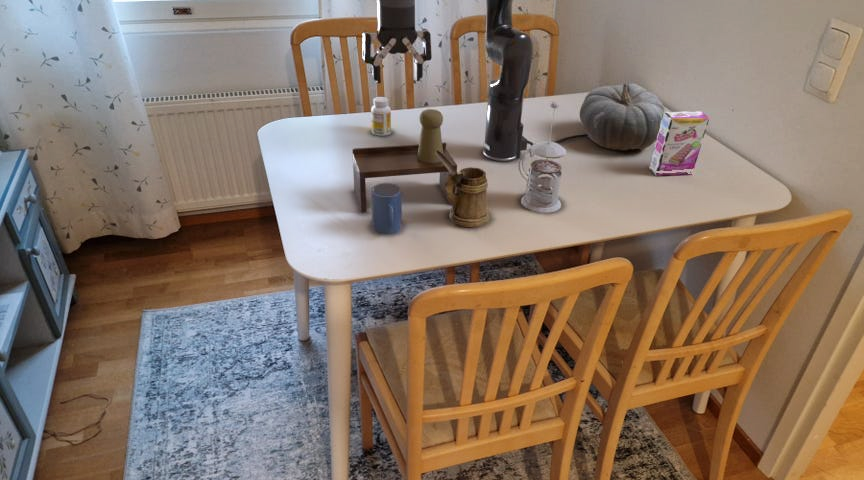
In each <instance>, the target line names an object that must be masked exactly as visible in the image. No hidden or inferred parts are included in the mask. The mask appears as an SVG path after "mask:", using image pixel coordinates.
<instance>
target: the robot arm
mask: <svg viewBox="0 0 864 480" xmlns="http://www.w3.org/2000/svg"><path fill="white" fill-rule="evenodd" d="M513 2H514V0H485V3H486V17H485V18H486V19H485V23H486V24H485V50H486V54H487V56H488V57H489V59H490V60H491V61H492V62H494V63H496V64H498V65H500V66H501V69H500V76H497V77H495V78H492V79H491V80H490V81H489V84H488V94H487V105H486V107H487V108H486V117H485V119H486V120H485V131H484V142H483V152H482V153H483V156H484V157H485V158H487V159H489V160H491V161H494V162H511V161H514V160H516V159H520V157H521V151H522V152H523V151H528V150H527V148H528V145H530V147H531V146H532V145H533V144H534V142H532V141H530V140H529V139H527V138H526V137H525V136H524V135H523V132H524V124H523V122H522V116H523V106H524V97H525V90H526V88H527V86H528V84H529V81H530V75H531V69H532V64H533V63H532V62H533V56H534V43H533V39H532V37H531V36H530V35H529V34H528V33H526V32H524V31H522V30H520V29H518V28H515V27H514V24H513ZM376 3H377V4H376V5H377V31H376V32H368V30H364V31H363V32H362V59H363V61H364V63H365V64H367V65H368V64H370V65H371V72H372V74H371V75H372V78H373V80H374V81H375V83H376V84H382V78H381V65H380V64H381V63H382V61H383V60H384V59H385V58H386V57H387V56H388V54H391V55H396V54H402V55H403V54H404V55H405V54H407V53H410V55H412V57H413V58H414V59H415V60H414V62H413V65H414V66H413V68H414V69H413V71H414V72H413V73H414V74H413V75H414V77H413V78H414V80H415V82H421V79H422V78H423V75H424V70H423V69H424V68H423V66H424V63H425V62H428V61H431V60H432V58H433V57H432V55H433V54H432V38H431V36H432V35H431V33H430V31H429V30H428V29H427V28H423V29H422V30H417V29H416V0H376ZM417 38H418V39H419V41H420V42H422V53H419V52H418V51H417V49H416V48H415V47H414V46H413V45H414V44H415V42H416V40H417ZM376 39H377V41H378V42H379V43H380V44H379V45H378V47H377V48H376V50H375V53H374V54H373V56H372V53H371V51H372V44H374V43H375V40H376ZM580 138H590V137H589V136H588V135H587V133H583V134H582V133H581V134H576V135H570V136H567V137H566V136H565V137H563V138H560V139H558V140H554V141H553V142H555V143H557V144H559V143H562V142H565V141H569V140H574V139H580Z"/></svg>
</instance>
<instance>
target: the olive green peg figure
mask: <svg viewBox="0 0 864 480" xmlns="http://www.w3.org/2000/svg"><path fill="white" fill-rule="evenodd" d="M443 122H444V116H443V114H442V112H441V111H440V110H437V109H433V108H430V109H429V108H428V109H424V110H422V111H421V113H420V115H419V124H420V125H421V129H420V135H419V136H420V137H419V141H418V142H419V143H418V144H419V148H418V154H417V158H418V159H419V160H420V161H422V162H426V163H436V162H440V161H441V160H440V159H439V158H438V156H437V155H436V153H435V152H436V150H438V151H440V152H441V153H442V154H443V148H442V143H443V139H442V129H441V126H442V125H443Z"/></svg>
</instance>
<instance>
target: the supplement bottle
mask: <svg viewBox="0 0 864 480" xmlns="http://www.w3.org/2000/svg"><path fill="white" fill-rule="evenodd" d="M391 110H392V109H391V107H390V106H389V99H388V98H387V97H384V96H377V97H376V96H375V97H374V98H373V105H372V106H371V108H370V114H371V115H370V117H371V118H370V119H371V133H372V134H373V135H376V136H379V137H380V136H381V137H383V136H388V135H390V134H391V133H392V111H391Z"/></svg>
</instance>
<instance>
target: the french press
mask: <svg viewBox="0 0 864 480" xmlns="http://www.w3.org/2000/svg"><path fill="white" fill-rule="evenodd" d="M549 107H550V108H552V118H551V125H550V132H549V140H547V141H545V140H542V141H539V142H536V143H533V145H532V146H531V145H530V149H528V150H526V151H525V152H523V153H522V154H521V155H520V158H518V159H519V160H518V171H519V173H520V175H521V177H522V178H523V179H524V180H525V181H526V187H525V195H523V196H522V197H521V199H520V203H521V205H522V206H523V207H524V208H525V209H528V210H529V211H532V212H536V213H541V214H542V213H544V214H545V213H546V214H547V213H548V214H549V213H553V212H556V211H558V210H560V209H561V208H562V202H561V201H560V199H559V193H560V187H561V181H562V171H561V170H562V165H561V164H560V163H558V162H556V161H554V159H561V158H562V157H564V156H565V155H566V153H567V150H566V149H565V147H563V145H561V144H559V143H555V142H554V141H551V137H552V130H553V124H554V117H555V116H554V115H555V110H556V109H558V108H559V107H560V103H559V102H558V101H551V102H550V105H549ZM527 153H530V156H529V157H530V158H533V157H534V156H535V155H536V156H538V157H541V158H540V159H535V160H533V161H531V163H530V167H531V168H529V169H528V173H527V172H526V171H525V168H524V159H525V156H526V155H527ZM532 153H533V154H532ZM542 158H544V159H542ZM545 158H546V159H545ZM550 159H551V160H550ZM521 166H522V171H523V172H524V174H525V175H526V176H527V178H526V177H525V176H524V174H523V173H522V171H521ZM542 175H548V176H542ZM539 176H540V177H539ZM549 176H550V177H549Z"/></svg>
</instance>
